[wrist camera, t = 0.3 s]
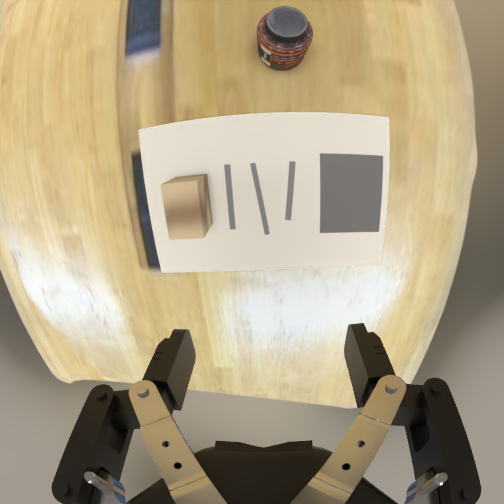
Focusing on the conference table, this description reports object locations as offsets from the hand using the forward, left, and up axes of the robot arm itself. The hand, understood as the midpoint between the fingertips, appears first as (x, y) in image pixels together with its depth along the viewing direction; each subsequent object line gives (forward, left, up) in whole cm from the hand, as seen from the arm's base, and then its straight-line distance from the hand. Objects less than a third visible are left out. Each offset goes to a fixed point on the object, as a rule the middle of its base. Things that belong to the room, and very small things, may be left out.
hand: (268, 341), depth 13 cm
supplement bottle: (-21, +3, -27) cm, 35 cm away
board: (-1, 0, -27) cm, 27 cm away
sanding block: (-1, -10, -25) cm, 27 cm away
